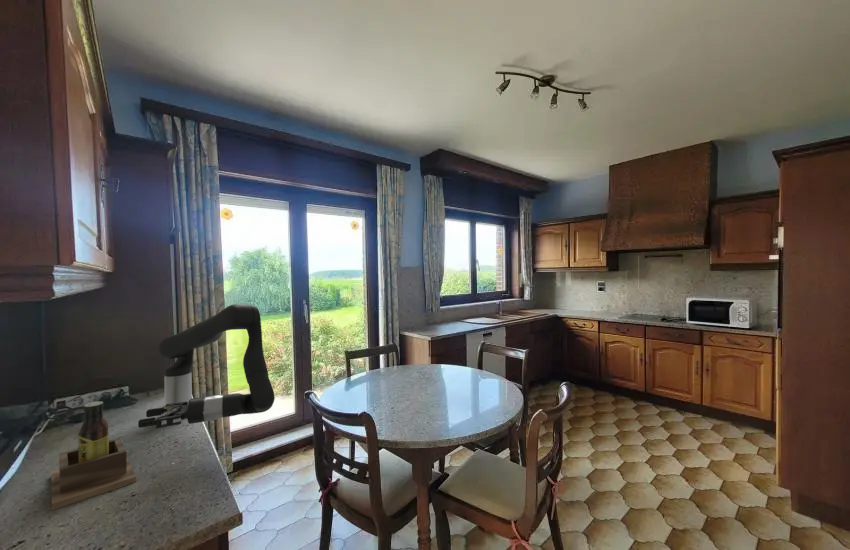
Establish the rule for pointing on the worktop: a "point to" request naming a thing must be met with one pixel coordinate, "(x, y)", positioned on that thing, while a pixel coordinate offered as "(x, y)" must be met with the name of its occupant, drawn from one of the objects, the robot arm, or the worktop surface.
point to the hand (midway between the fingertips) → (142, 418)
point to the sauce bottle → (93, 433)
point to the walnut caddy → (90, 475)
